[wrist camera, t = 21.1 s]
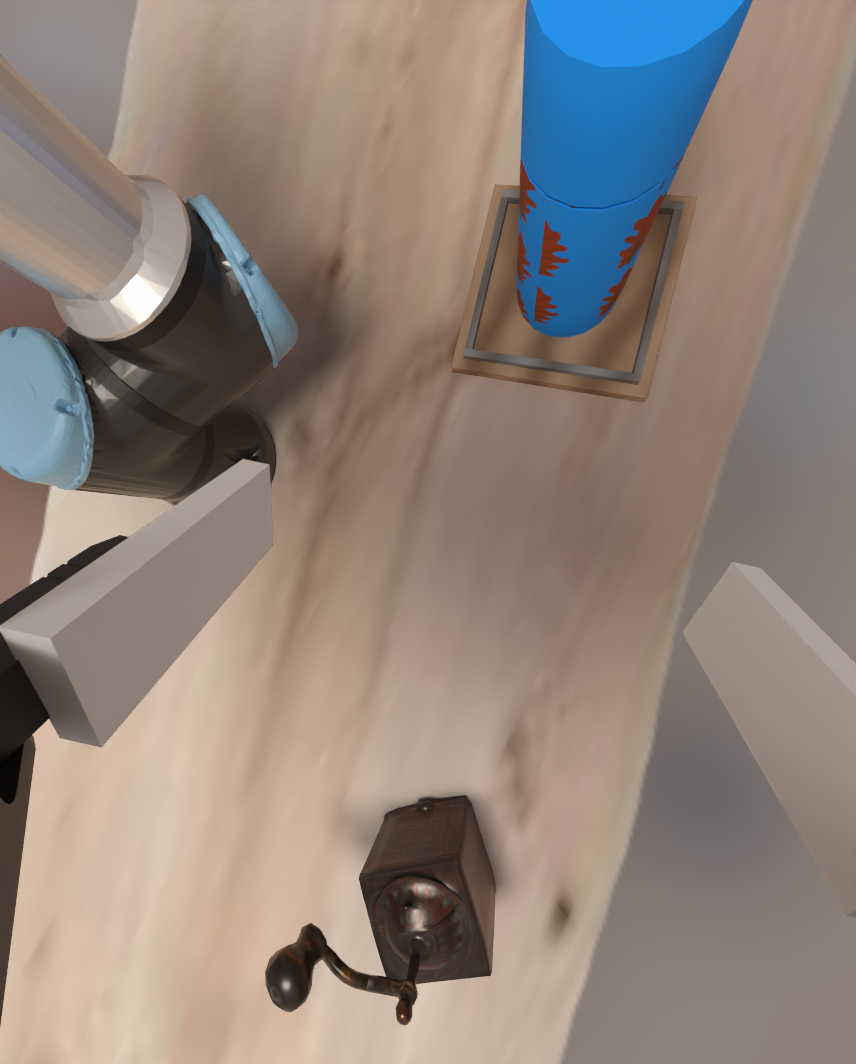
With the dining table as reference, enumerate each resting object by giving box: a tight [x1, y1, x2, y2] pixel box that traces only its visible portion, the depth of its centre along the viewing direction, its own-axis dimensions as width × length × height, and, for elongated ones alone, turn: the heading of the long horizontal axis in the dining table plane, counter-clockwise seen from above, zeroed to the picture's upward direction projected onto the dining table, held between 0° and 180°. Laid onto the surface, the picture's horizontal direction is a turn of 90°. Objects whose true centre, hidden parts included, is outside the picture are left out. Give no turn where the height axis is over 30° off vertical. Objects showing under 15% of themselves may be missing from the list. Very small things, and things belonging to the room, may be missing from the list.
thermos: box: [517, 0, 752, 338], centre depth 31 cm, size 11×11×25 cm
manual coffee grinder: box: [265, 796, 496, 1025], centre depth 37 cm, size 16×11×18 cm
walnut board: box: [451, 184, 697, 402], centre depth 43 cm, size 21×21×2 cm
